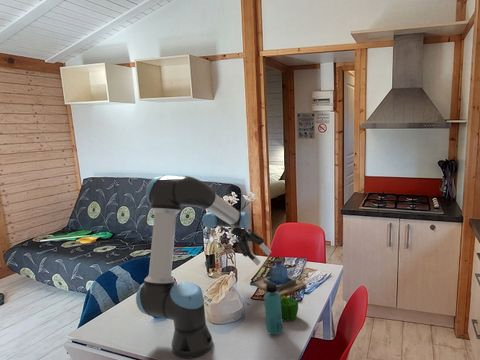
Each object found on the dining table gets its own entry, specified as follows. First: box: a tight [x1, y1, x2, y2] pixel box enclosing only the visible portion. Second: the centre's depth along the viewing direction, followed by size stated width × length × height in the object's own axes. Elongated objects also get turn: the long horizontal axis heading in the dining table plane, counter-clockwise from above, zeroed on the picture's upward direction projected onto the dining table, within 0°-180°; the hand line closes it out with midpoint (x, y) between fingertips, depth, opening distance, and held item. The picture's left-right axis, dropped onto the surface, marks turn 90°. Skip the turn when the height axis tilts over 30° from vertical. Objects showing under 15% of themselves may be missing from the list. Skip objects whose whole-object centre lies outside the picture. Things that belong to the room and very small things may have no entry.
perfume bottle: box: [269, 258, 288, 285], centre depth 180 cm, size 6×6×12 cm
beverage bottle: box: [263, 283, 284, 335], centre depth 141 cm, size 6×7×20 cm
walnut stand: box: [253, 274, 307, 297], centre depth 180 cm, size 18×18×4 cm
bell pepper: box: [280, 295, 299, 322], centre depth 151 cm, size 8×8×10 cm
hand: (264, 258), depth 182 cm, fingers open, 13 cm apart
